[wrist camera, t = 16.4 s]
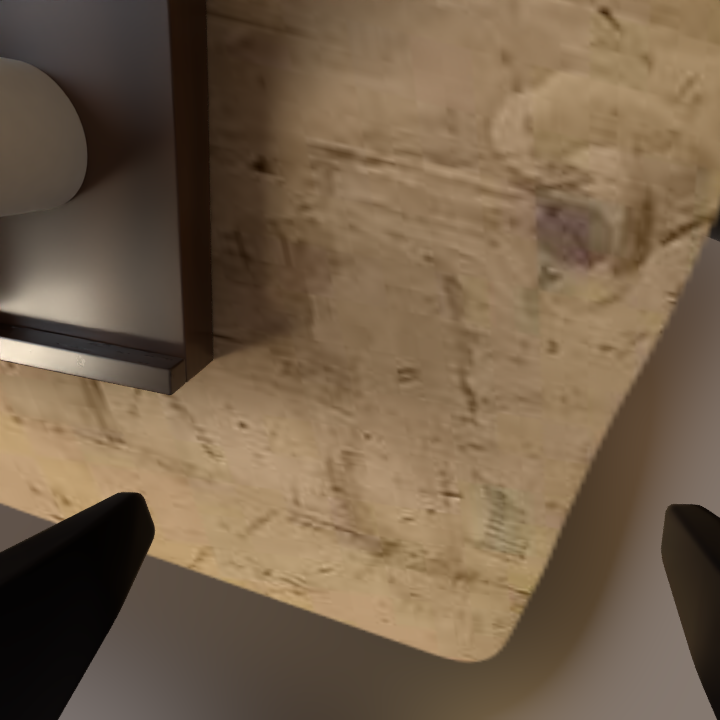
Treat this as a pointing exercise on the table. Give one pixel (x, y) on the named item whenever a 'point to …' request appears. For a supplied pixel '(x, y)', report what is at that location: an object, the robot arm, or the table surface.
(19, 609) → the robot arm
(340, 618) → the table surface
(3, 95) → the glue bottle
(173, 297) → the step shelf
